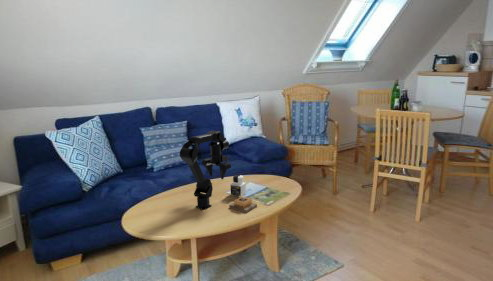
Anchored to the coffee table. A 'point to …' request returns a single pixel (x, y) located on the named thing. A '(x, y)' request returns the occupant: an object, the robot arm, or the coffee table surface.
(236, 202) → the brown hollow square block
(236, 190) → the medicine bottle
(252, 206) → the keeper plate
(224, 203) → the coffee table surface
